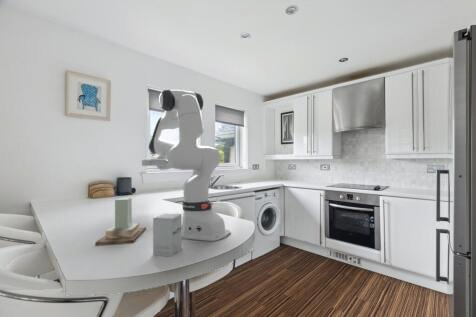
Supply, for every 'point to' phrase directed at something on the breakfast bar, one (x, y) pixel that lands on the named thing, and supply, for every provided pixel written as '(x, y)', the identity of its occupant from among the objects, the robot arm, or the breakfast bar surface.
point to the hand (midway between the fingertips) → (158, 162)
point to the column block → (123, 213)
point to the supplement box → (167, 234)
